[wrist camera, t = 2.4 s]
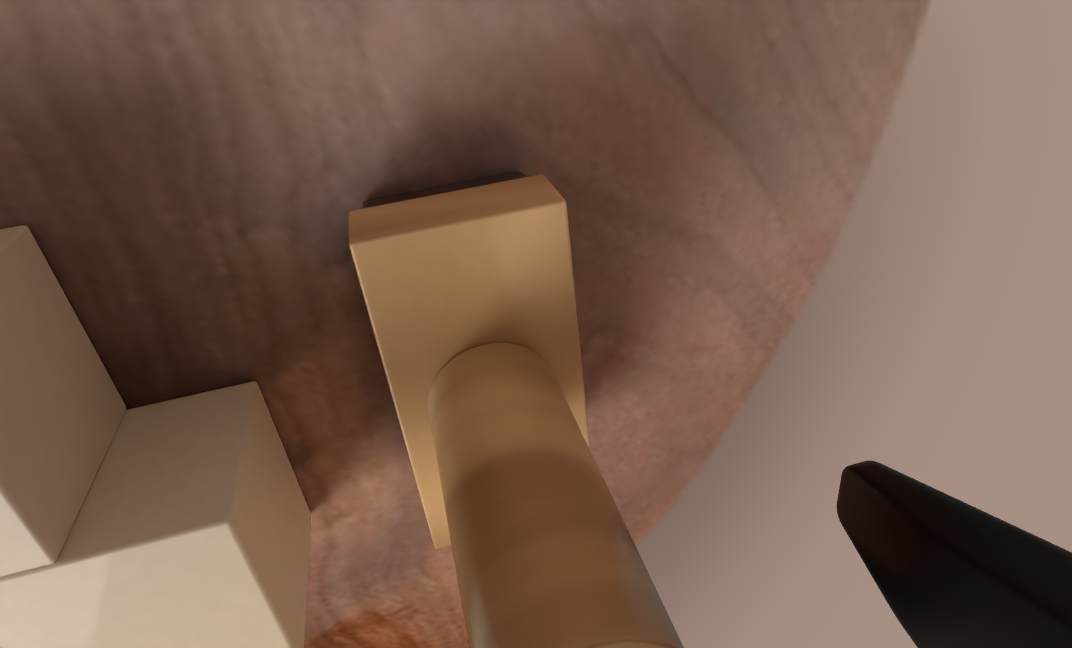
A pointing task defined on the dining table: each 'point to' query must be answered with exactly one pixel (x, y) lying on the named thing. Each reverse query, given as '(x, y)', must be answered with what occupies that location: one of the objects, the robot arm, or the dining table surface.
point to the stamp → (502, 412)
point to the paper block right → (177, 539)
